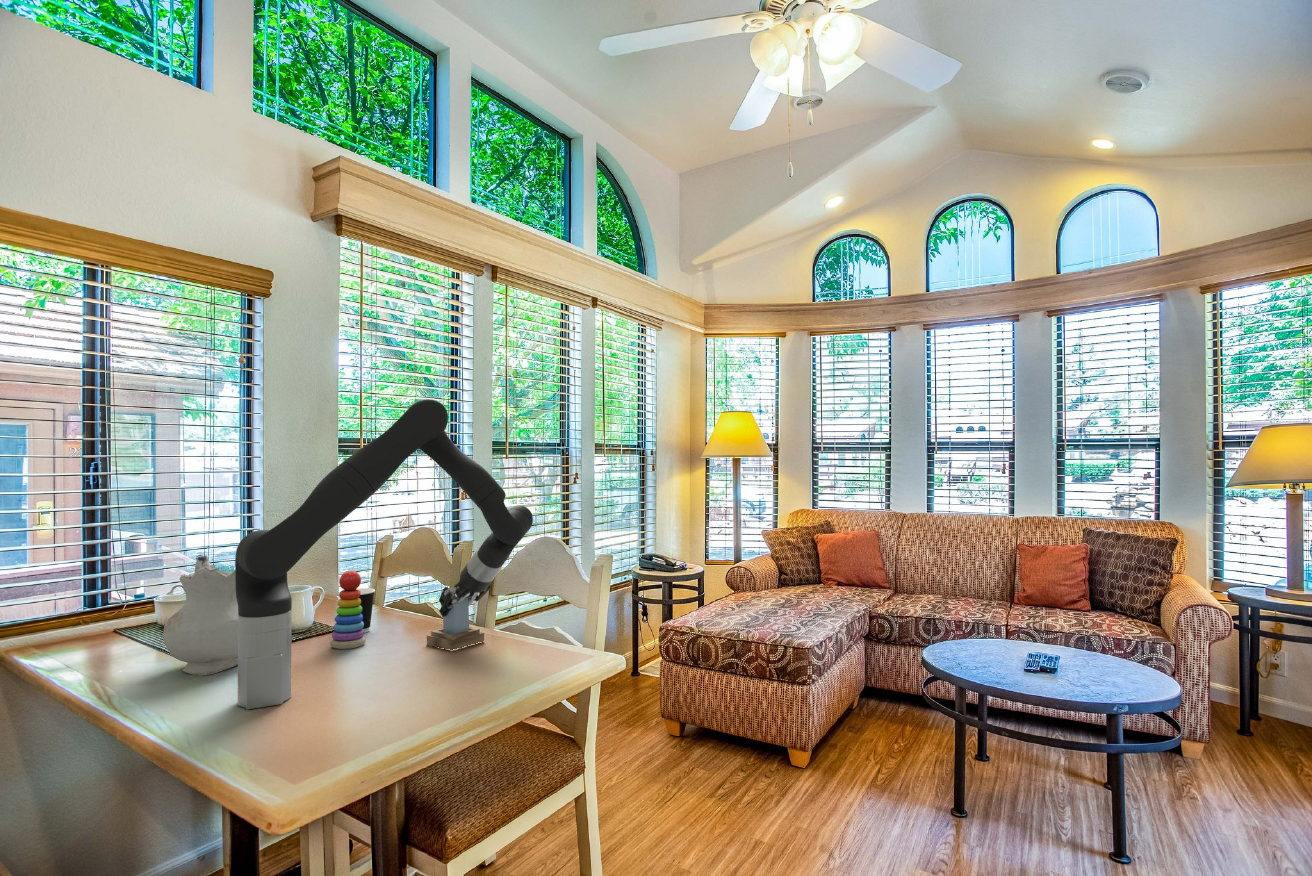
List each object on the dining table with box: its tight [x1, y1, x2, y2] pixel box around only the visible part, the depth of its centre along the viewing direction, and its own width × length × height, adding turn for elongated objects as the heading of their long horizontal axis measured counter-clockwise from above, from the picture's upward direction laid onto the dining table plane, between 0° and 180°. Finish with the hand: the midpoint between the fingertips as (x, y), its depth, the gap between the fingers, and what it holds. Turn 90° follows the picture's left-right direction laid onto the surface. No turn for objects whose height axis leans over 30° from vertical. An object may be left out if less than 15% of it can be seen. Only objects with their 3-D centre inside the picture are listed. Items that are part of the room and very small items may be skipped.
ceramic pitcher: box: [162, 554, 238, 676], centre depth 159 cm, size 22×20×25 cm
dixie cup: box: [357, 587, 376, 634], centre depth 189 cm, size 8×8×11 cm
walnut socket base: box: [426, 626, 485, 650], centre depth 176 cm, size 10×10×4 cm
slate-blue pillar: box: [442, 594, 470, 635], centre depth 176 cm, size 4×4×10 cm
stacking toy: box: [330, 570, 366, 650], centre depth 175 cm, size 8×8×19 cm
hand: (451, 611), depth 177 cm, fingers open, 5 cm apart
